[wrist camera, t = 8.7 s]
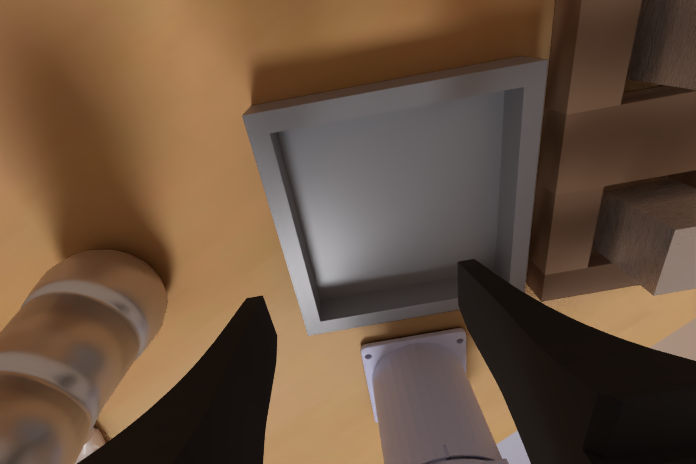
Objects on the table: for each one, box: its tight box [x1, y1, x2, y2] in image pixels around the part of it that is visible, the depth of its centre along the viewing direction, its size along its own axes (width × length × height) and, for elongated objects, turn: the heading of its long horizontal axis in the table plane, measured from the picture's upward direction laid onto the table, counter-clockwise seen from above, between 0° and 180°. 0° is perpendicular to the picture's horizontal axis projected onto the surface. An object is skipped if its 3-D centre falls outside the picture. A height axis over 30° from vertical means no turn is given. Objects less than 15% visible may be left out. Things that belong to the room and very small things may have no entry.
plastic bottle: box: [0, 250, 168, 464], centre depth 15 cm, size 6×7×20 cm
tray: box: [242, 56, 548, 336], centre depth 21 cm, size 14×14×2 cm
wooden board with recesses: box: [526, 0, 696, 302], centre depth 20 cm, size 20×11×2 cm, turn 9°
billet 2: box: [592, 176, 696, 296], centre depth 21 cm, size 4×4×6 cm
